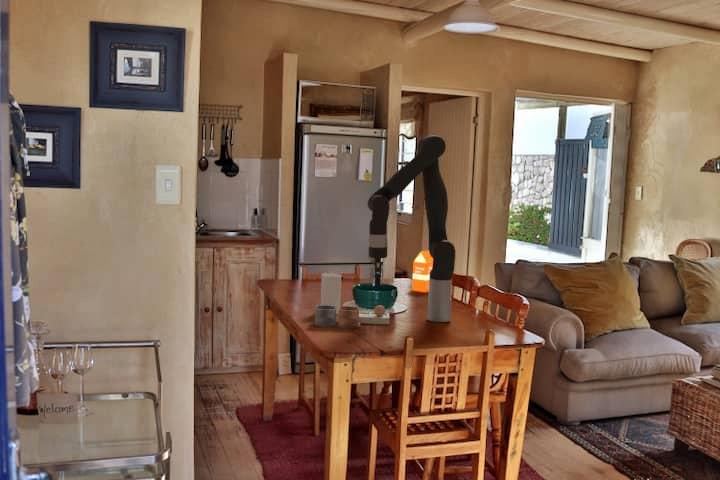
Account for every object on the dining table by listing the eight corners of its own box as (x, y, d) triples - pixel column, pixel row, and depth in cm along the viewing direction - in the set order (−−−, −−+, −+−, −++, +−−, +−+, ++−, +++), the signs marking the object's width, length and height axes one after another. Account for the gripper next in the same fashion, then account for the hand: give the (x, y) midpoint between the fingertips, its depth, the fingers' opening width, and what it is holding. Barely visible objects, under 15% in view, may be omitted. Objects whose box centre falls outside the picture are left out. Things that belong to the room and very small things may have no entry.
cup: (337, 315, 286) (338, 277, 284) (318, 313, 287) (319, 275, 286) (341, 311, 294) (343, 274, 292) (323, 309, 295) (324, 272, 294)
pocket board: (388, 318, 283) (389, 312, 283) (389, 324, 274) (389, 318, 273) (352, 317, 283) (352, 311, 283) (351, 322, 274) (351, 316, 274)
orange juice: (433, 289, 351) (435, 250, 349) (425, 292, 344) (427, 252, 341) (419, 287, 355) (421, 249, 353) (411, 290, 348) (413, 250, 346)
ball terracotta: (384, 315, 280) (385, 304, 280) (385, 317, 276) (385, 306, 275) (373, 314, 280) (374, 303, 280) (373, 317, 276) (374, 306, 275)
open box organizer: (360, 323, 274) (360, 306, 273) (359, 328, 265) (360, 311, 264) (314, 321, 274) (315, 304, 273) (312, 326, 265) (313, 309, 264)
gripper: (388, 247, 267) (387, 289, 269) (387, 243, 281) (386, 282, 283) (368, 247, 267) (368, 289, 269) (368, 243, 281) (368, 282, 283)
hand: (377, 285), depth 276 cm, fingers open, 8 cm apart
